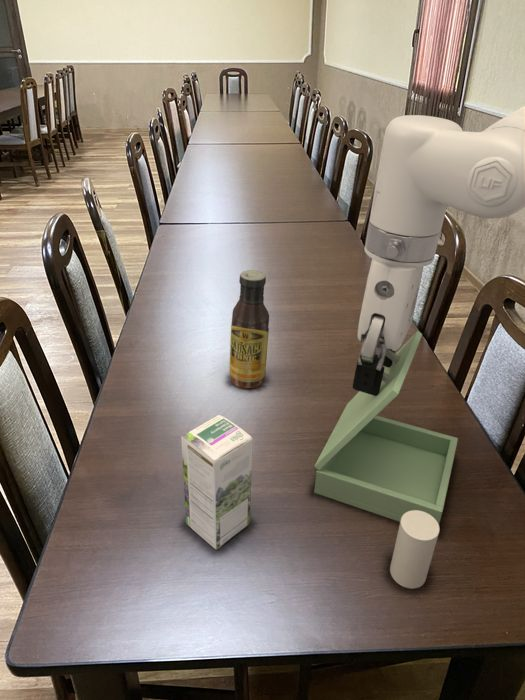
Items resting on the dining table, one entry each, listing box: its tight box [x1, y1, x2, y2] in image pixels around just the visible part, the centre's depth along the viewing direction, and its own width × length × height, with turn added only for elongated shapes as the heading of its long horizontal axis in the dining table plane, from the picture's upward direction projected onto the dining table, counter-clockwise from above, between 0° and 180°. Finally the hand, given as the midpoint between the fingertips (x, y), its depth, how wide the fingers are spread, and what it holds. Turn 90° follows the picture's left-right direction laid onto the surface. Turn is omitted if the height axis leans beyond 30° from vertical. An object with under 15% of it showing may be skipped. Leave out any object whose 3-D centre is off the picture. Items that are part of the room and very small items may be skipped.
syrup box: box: [180, 414, 254, 551], centre depth 62 cm, size 6×6×14 cm
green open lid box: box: [313, 415, 459, 526], centre depth 73 cm, size 16×15×4 cm
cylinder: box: [389, 510, 441, 589], centre depth 59 cm, size 4×4×8 cm
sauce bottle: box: [228, 269, 270, 389], centre depth 88 cm, size 6×6×20 cm
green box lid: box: [314, 330, 423, 470], centre depth 69 cm, size 17×15×5 cm
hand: (372, 376), depth 67 cm, fingers closed on green box lid, 6 cm apart
